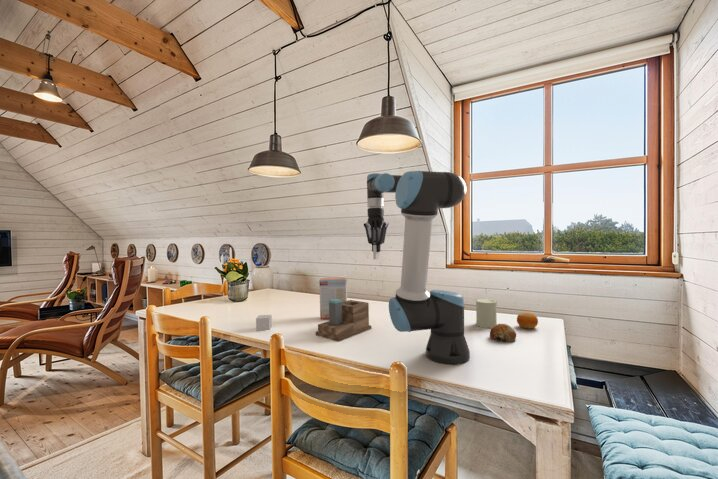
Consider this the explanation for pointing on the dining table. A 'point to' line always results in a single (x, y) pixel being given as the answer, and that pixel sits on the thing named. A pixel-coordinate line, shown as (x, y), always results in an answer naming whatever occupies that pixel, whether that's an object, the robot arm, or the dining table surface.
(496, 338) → the bread roll
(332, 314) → the plug
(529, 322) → the fruit
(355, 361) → the dining table surface
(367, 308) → the wooden desk organizer
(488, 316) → the can
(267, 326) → the gray cube
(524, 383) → the dining table surface
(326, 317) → the cracker box
